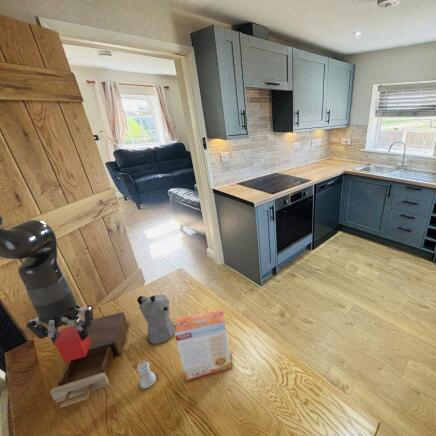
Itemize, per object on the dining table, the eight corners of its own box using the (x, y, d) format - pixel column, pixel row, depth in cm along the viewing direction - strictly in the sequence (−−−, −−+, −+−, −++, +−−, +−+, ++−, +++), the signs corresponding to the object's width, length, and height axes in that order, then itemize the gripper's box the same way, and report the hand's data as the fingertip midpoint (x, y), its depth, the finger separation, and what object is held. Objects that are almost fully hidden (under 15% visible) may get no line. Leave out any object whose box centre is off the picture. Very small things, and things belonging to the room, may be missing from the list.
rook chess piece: (151, 389, 72) (145, 372, 69) (136, 389, 72) (130, 371, 69) (159, 375, 76) (154, 358, 73) (145, 374, 76) (139, 357, 73)
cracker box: (229, 353, 84) (224, 307, 76) (231, 368, 79) (225, 322, 70) (187, 364, 80) (176, 317, 71) (185, 381, 74) (173, 333, 66)
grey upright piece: (184, 330, 92) (176, 293, 85) (164, 350, 84) (153, 311, 77) (156, 317, 98) (147, 282, 91) (134, 335, 90) (122, 298, 83)
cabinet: (119, 355, 82) (114, 342, 79) (70, 370, 77) (62, 356, 74) (127, 324, 94) (123, 311, 92) (85, 335, 89) (79, 322, 87)
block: (64, 362, 68) (54, 342, 65) (71, 348, 72) (62, 328, 69) (86, 356, 70) (77, 337, 66) (91, 342, 74) (83, 323, 71)
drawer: (104, 400, 68) (99, 389, 67) (49, 419, 64) (42, 408, 62) (118, 349, 83) (114, 339, 81) (74, 361, 79) (69, 351, 77)
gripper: (89, 279, 68) (106, 323, 75) (22, 292, 63) (47, 338, 69) (80, 296, 62) (99, 343, 68) (5, 312, 56) (33, 360, 63)
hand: (72, 340), depth 69 cm, fingers closed on block, 5 cm apart
